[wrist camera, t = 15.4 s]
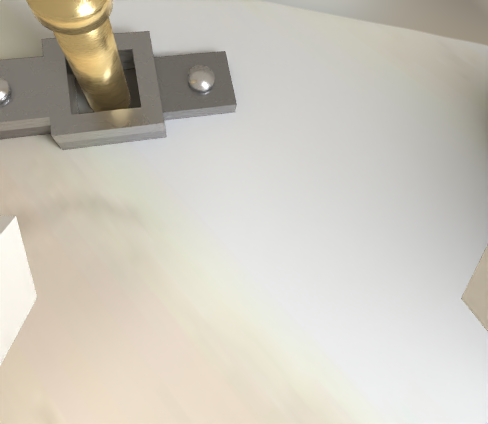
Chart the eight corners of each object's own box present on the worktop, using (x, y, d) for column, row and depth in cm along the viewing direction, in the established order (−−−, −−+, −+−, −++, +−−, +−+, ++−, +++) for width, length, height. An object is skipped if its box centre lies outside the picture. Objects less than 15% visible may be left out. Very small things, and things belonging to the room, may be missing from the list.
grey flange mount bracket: (220, 45, 41) (223, 21, 37) (238, 128, 39) (243, 110, 35) (-28, 66, 36) (-51, 41, 33) (-22, 160, 34) (-46, 144, 31)
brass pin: (133, 72, 38) (102, -54, 25) (140, 119, 37) (112, 14, 24) (79, 77, 37) (17, -51, 24) (84, 125, 36) (23, 19, 23)
